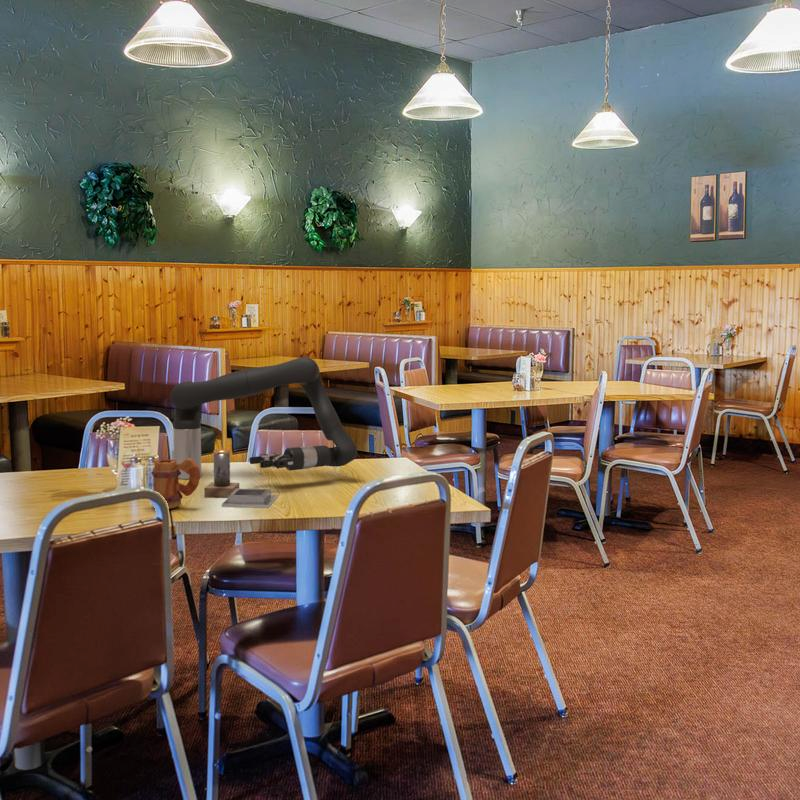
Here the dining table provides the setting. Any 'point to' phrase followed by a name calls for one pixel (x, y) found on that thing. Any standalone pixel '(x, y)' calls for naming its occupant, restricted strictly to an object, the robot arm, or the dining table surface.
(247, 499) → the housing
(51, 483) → the dining table surface
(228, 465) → the grey metal cylinder
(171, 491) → the mug
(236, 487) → the stand
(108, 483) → the dining table surface
